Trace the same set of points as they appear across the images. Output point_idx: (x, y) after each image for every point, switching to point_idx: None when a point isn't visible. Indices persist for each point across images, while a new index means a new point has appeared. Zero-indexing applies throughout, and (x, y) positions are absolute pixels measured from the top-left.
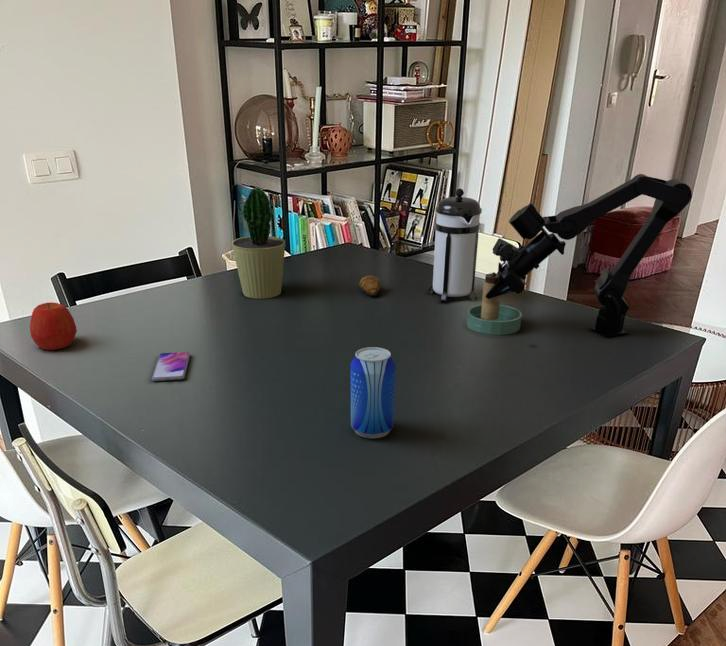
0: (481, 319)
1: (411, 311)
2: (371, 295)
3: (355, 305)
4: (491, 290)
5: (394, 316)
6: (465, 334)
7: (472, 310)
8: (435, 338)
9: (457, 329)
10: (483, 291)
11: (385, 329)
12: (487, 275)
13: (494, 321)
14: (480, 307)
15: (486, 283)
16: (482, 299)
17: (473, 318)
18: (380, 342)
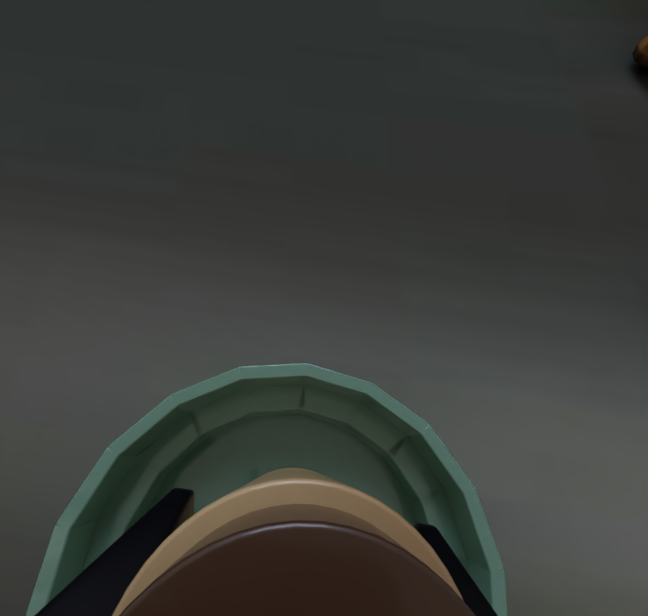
0: (124, 442)
1: (503, 166)
2: (635, 50)
3: (531, 14)
4: (67, 591)
5: (430, 103)
6: (177, 359)
7: (387, 415)
8: (144, 211)
9: (260, 328)
10: (275, 474)
11: (278, 61)
12: (309, 582)
13: (51, 553)
14: (453, 488)
15: (196, 516)
16: (290, 470)
17: (187, 389)
18: (138, 33)
